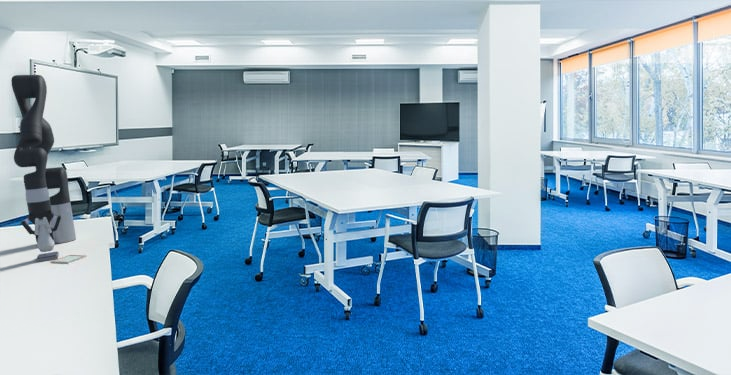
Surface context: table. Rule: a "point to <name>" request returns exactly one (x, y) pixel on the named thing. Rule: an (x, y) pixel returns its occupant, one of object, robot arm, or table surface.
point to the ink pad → (47, 256)
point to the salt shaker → (44, 238)
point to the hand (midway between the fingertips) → (45, 242)
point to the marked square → (68, 259)
